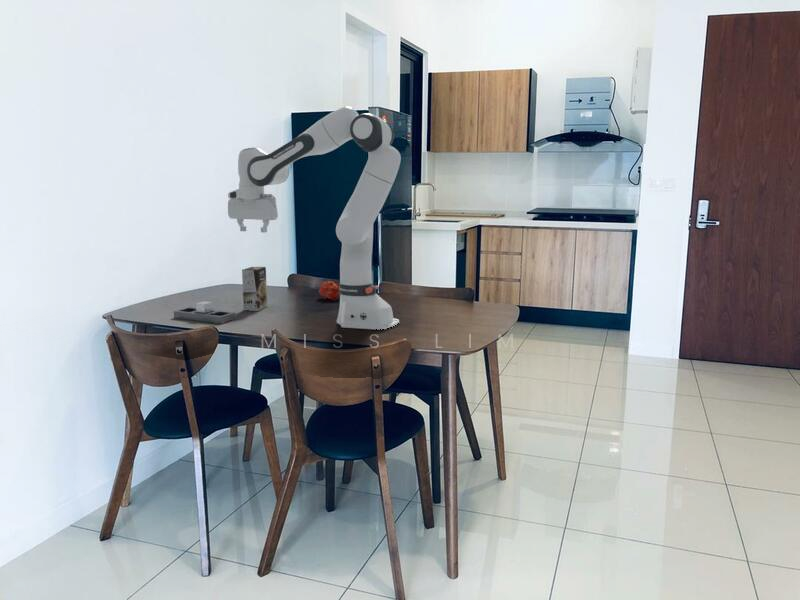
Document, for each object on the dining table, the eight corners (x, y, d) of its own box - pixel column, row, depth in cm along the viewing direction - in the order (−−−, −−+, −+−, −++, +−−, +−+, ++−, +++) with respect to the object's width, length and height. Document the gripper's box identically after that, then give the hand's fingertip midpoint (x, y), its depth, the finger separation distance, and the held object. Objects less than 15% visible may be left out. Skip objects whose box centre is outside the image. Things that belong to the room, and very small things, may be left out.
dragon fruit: (319, 300, 273) (342, 307, 268) (310, 292, 266) (333, 299, 261) (328, 283, 276) (351, 290, 270) (319, 274, 269) (342, 281, 263)
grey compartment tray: (235, 319, 233) (235, 312, 232) (220, 323, 226) (220, 317, 225) (189, 313, 242) (189, 307, 241) (174, 317, 235) (173, 311, 234)
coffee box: (258, 311, 246) (256, 270, 242) (243, 310, 247) (241, 269, 244) (268, 306, 254) (266, 266, 251) (253, 305, 256) (251, 266, 252)
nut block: (213, 318, 235) (212, 302, 233) (205, 320, 231) (204, 304, 230) (204, 317, 236) (203, 301, 235) (197, 319, 233) (195, 303, 232)
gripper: (280, 193, 230) (281, 232, 233) (235, 193, 239) (237, 230, 241) (269, 194, 224) (271, 233, 227) (224, 193, 233) (226, 231, 236)
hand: (253, 231), depth 234 cm, fingers open, 8 cm apart
